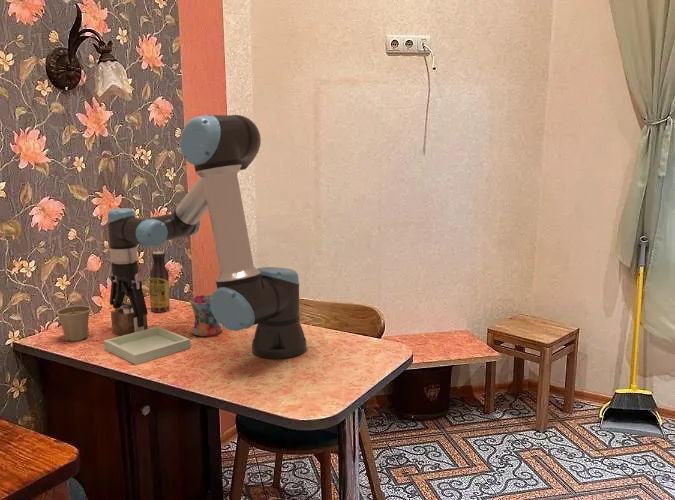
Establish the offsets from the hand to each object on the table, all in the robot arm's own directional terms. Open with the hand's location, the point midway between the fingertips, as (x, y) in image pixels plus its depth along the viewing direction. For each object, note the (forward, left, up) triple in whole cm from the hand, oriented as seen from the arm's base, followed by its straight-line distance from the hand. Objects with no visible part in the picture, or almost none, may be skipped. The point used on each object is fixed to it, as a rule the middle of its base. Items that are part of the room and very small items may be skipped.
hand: (130, 332), depth 200 cm
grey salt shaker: (0, 0, 0) cm, 0 cm away
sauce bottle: (+14, -19, 0) cm, 24 cm away
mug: (-17, -17, 0) cm, 24 cm away
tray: (-16, +4, 0) cm, 16 cm away
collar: (0, 0, 0) cm, 0 cm away
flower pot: (+8, +13, 0) cm, 15 cm away
